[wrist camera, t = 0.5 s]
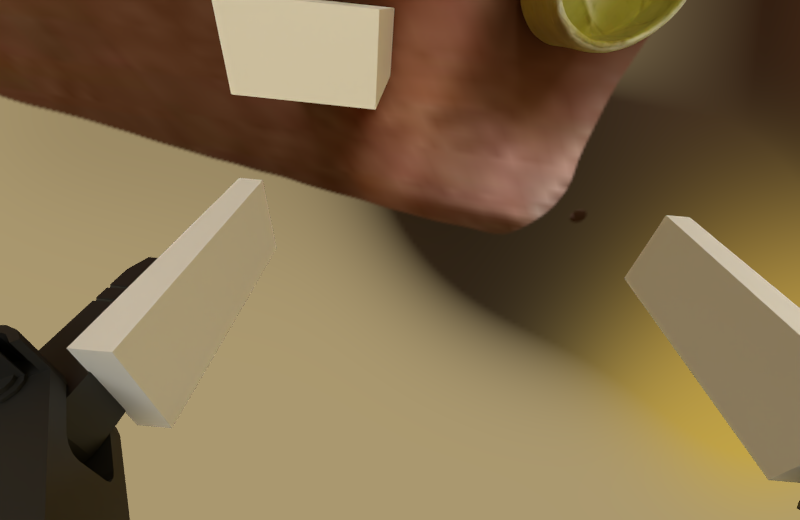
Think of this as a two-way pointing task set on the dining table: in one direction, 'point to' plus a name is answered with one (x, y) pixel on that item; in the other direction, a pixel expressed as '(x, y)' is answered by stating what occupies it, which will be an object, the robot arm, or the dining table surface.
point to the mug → (597, 22)
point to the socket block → (306, 50)
